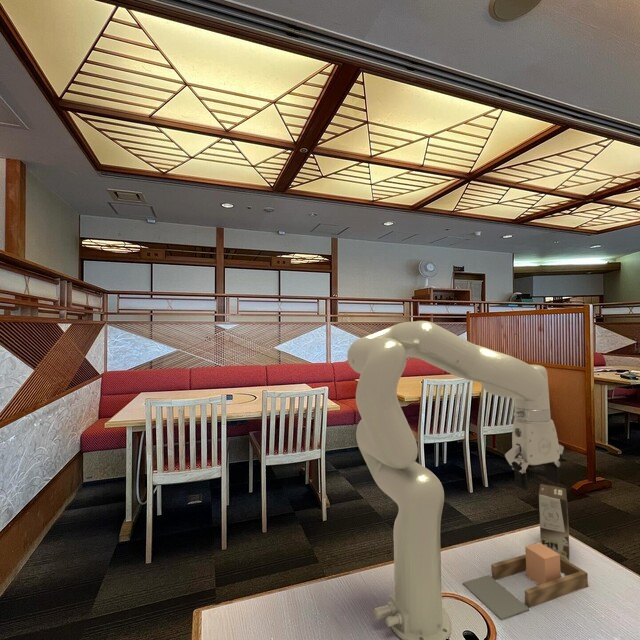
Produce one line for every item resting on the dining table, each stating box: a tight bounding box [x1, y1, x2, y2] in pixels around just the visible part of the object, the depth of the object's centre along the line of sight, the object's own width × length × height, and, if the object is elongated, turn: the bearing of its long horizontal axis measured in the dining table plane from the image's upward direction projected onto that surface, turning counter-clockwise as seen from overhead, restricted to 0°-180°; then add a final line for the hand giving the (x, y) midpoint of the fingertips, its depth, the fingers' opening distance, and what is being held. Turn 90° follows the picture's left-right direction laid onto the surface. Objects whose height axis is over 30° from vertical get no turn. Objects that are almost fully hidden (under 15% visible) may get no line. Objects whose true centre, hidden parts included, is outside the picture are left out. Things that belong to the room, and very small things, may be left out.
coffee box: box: [538, 483, 570, 562], centre depth 92 cm, size 9×6×16 cm
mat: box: [462, 574, 531, 621], centre depth 75 cm, size 8×11×1 cm
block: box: [524, 542, 562, 586], centre depth 81 cm, size 5×5×7 cm
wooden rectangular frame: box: [490, 553, 589, 609], centre depth 80 cm, size 19×10×3 cm, turn 109°
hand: (537, 484), depth 82 cm, fingers open, 9 cm apart
